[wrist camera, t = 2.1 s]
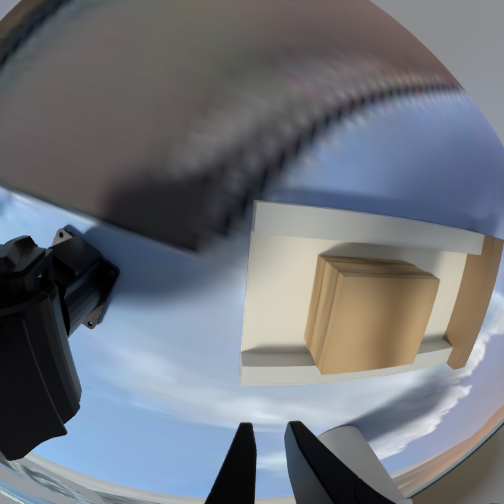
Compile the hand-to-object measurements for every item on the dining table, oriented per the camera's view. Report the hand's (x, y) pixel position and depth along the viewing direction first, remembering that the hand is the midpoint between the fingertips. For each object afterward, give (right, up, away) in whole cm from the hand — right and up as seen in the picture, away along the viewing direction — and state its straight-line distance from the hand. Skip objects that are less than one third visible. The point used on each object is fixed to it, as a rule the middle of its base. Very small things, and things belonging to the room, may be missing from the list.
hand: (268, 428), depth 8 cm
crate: (+8, +2, +13) cm, 15 cm away
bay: (+11, +2, +14) cm, 18 cm away
